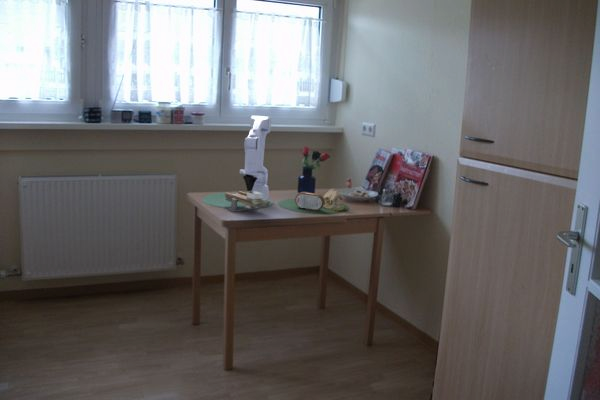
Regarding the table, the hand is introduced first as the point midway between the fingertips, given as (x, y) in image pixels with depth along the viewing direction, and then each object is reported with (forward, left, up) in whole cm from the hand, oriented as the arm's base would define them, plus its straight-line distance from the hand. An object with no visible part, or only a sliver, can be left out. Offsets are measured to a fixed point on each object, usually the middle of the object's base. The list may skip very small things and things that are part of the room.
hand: (249, 190), depth 289 cm
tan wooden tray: (0, -2, -7) cm, 7 cm away
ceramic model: (-44, +14, -10) cm, 48 cm away
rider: (0, +4, -4) cm, 6 cm away
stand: (0, -4, -10) cm, 11 cm away
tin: (-30, +11, -10) cm, 33 cm away
